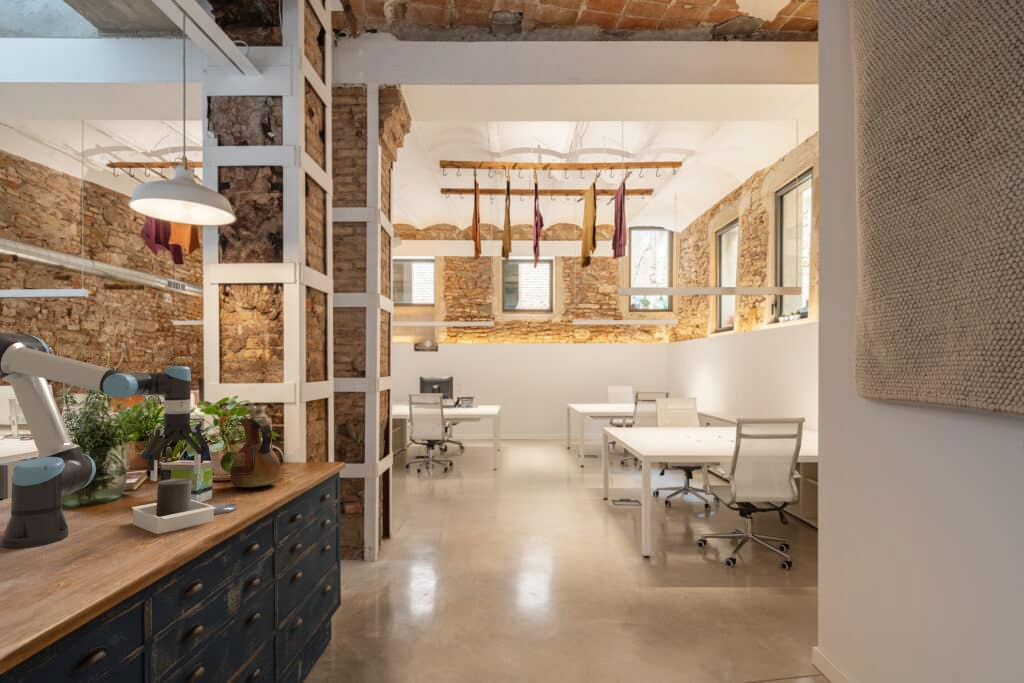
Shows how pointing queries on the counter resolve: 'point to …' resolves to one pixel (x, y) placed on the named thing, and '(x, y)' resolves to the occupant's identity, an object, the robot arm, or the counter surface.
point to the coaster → (224, 508)
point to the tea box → (191, 477)
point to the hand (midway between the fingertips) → (176, 477)
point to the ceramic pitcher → (255, 457)
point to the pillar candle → (173, 497)
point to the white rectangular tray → (172, 517)
